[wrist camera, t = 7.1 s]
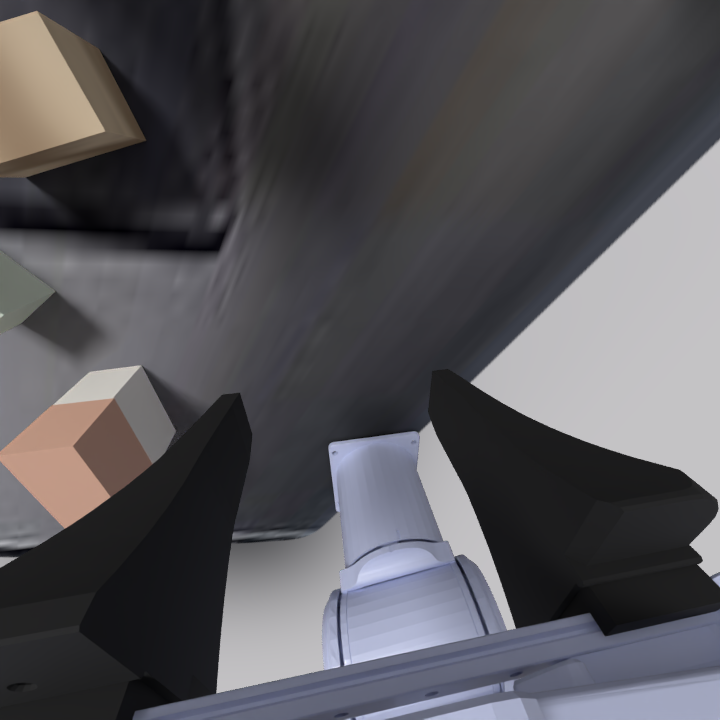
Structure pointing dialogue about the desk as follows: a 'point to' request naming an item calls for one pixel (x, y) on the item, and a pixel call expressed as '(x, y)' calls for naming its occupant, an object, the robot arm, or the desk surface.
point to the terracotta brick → (76, 457)
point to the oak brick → (56, 99)
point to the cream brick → (129, 404)
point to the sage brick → (19, 293)
